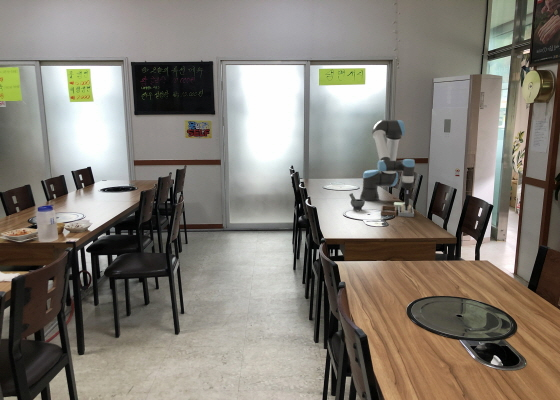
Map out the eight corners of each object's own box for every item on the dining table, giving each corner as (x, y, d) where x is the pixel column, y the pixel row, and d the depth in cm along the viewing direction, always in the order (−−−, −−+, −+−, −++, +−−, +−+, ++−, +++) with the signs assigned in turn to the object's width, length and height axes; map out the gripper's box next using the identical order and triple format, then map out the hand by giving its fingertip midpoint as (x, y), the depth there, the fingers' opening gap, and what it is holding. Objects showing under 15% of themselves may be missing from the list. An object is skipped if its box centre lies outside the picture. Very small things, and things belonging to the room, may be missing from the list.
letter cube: (401, 212, 317) (401, 203, 316) (410, 212, 316) (410, 204, 314) (401, 214, 311) (401, 205, 310) (410, 214, 310) (410, 206, 309)
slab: (393, 206, 335) (394, 202, 335) (407, 207, 333) (408, 202, 332) (393, 209, 326) (394, 204, 325) (408, 210, 323) (408, 205, 323)
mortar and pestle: (363, 208, 328) (364, 192, 326) (365, 211, 319) (365, 194, 316) (348, 208, 329) (348, 191, 326) (349, 210, 319) (349, 194, 317)
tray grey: (398, 209, 324) (398, 206, 324) (412, 210, 322) (412, 207, 321) (398, 215, 305) (398, 212, 305) (413, 216, 303) (414, 213, 302)
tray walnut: (381, 209, 327) (381, 205, 326) (395, 209, 324) (396, 206, 324) (380, 214, 308) (381, 211, 307) (396, 215, 305) (396, 212, 305)
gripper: (401, 179, 321) (399, 209, 326) (402, 184, 299) (400, 216, 303) (412, 179, 320) (410, 209, 324) (414, 184, 297) (412, 217, 301)
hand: (405, 213), depth 313 cm, fingers open, 11 cm apart
